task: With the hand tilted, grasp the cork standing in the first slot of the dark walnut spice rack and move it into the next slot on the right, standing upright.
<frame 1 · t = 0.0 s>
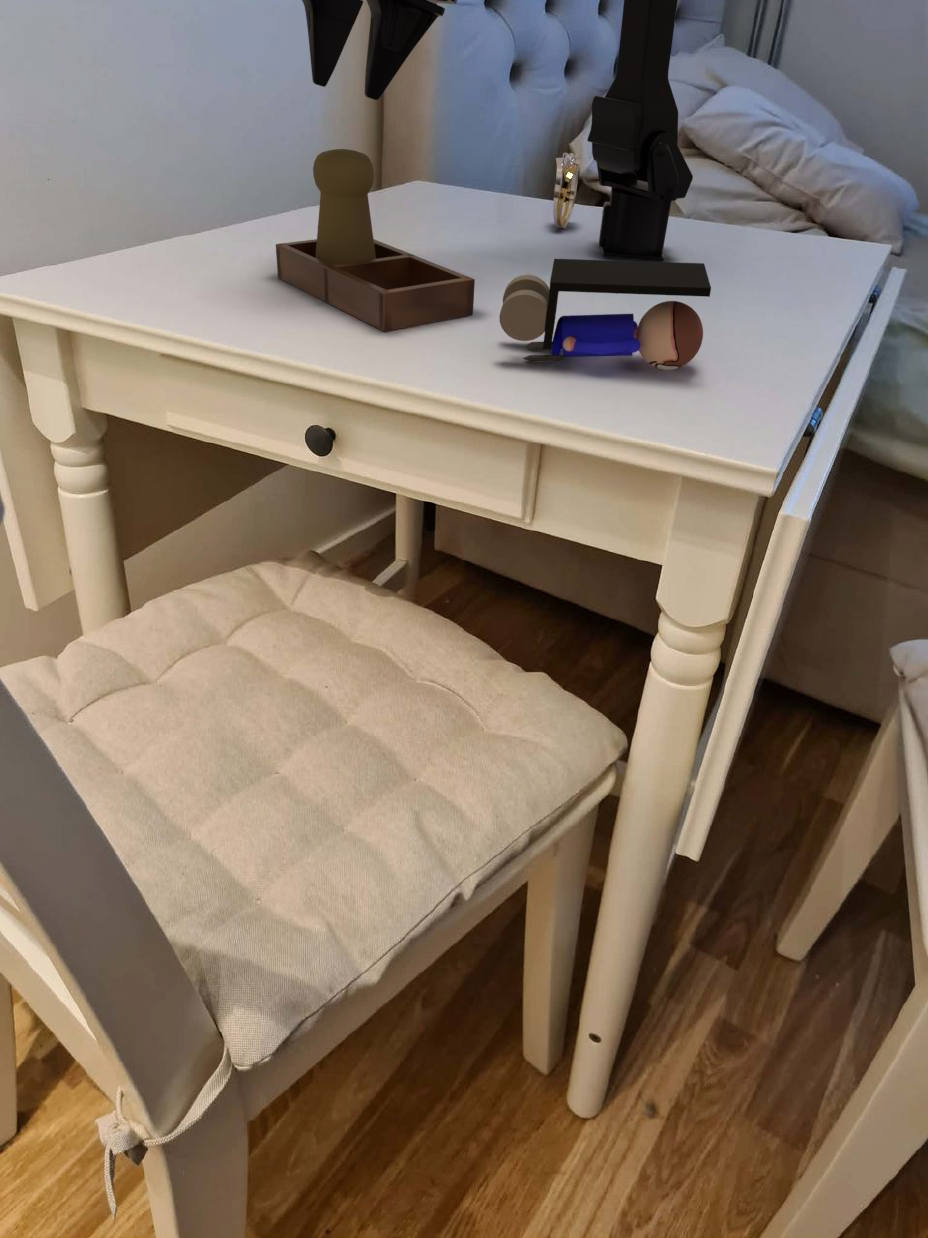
hand: (344, 91, 72), 15 cm above the table, tool pointing down, fingers open, 9 cm apart
cork: (346, 286, 82), resting in spice rack
ring: (561, 229, 106), on the table
figurine character: (595, 364, 68), on the table
spice rack: (371, 295, 79), on the table
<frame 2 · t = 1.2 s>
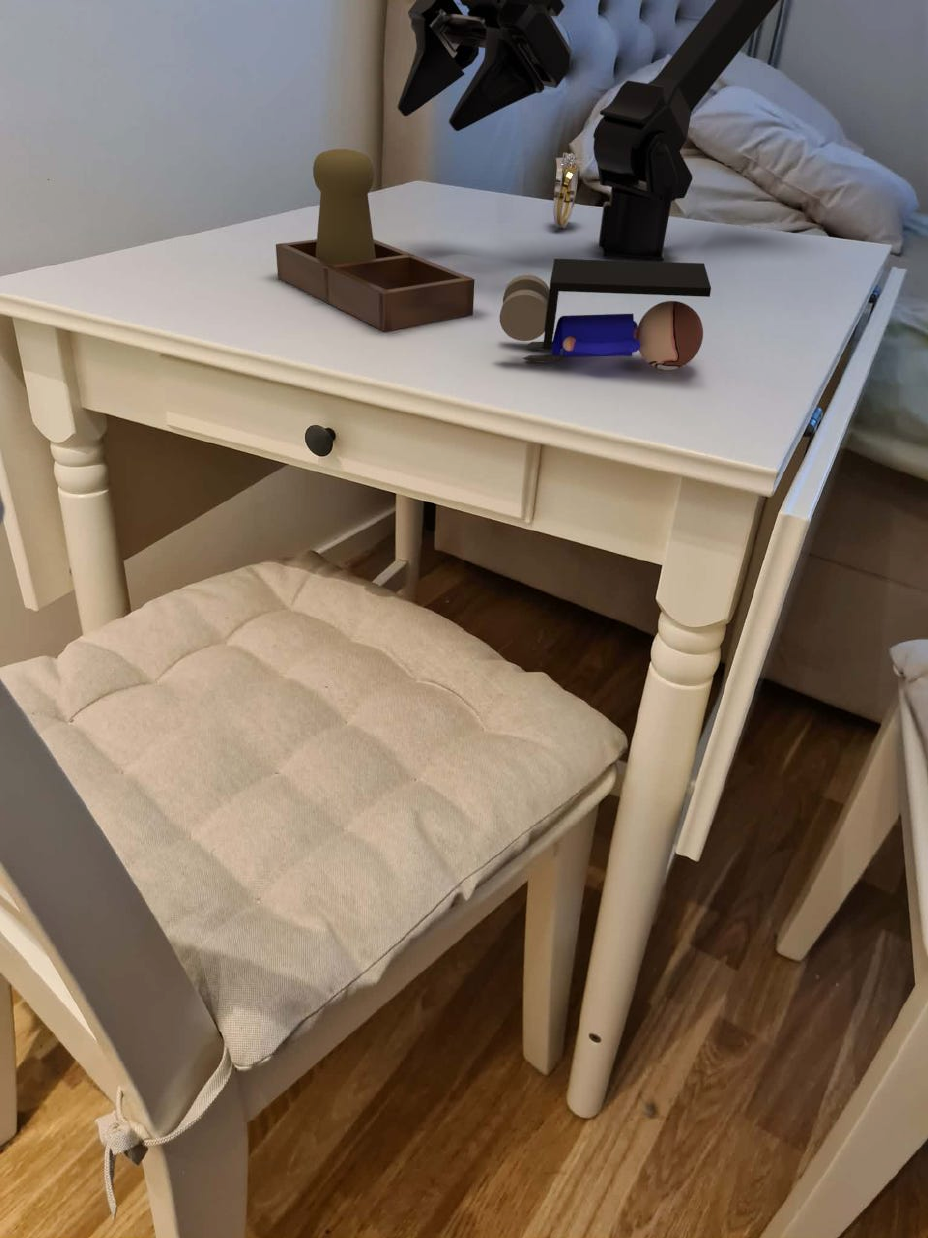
hand: (425, 119, 77), 13 cm above the table, tool tilted 45°, fingers open, 9 cm apart
nothing on the table moved.
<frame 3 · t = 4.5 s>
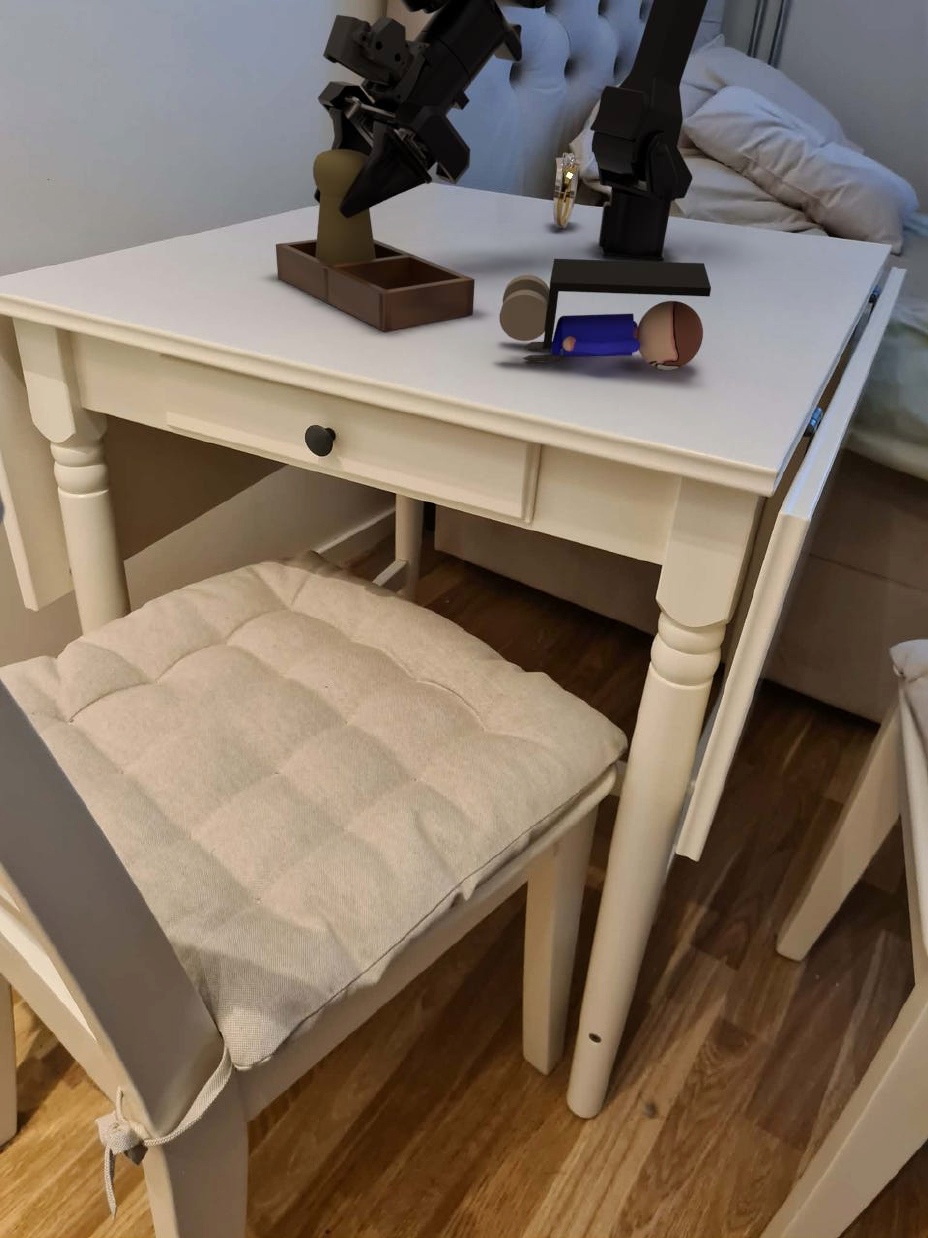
hand: (329, 207, 77), 7 cm above the table, tool tilted 45°, fingers closed on cork, 5 cm apart
cork: (346, 286, 82), resting in spice rack, touching gripper
everything else where it was.
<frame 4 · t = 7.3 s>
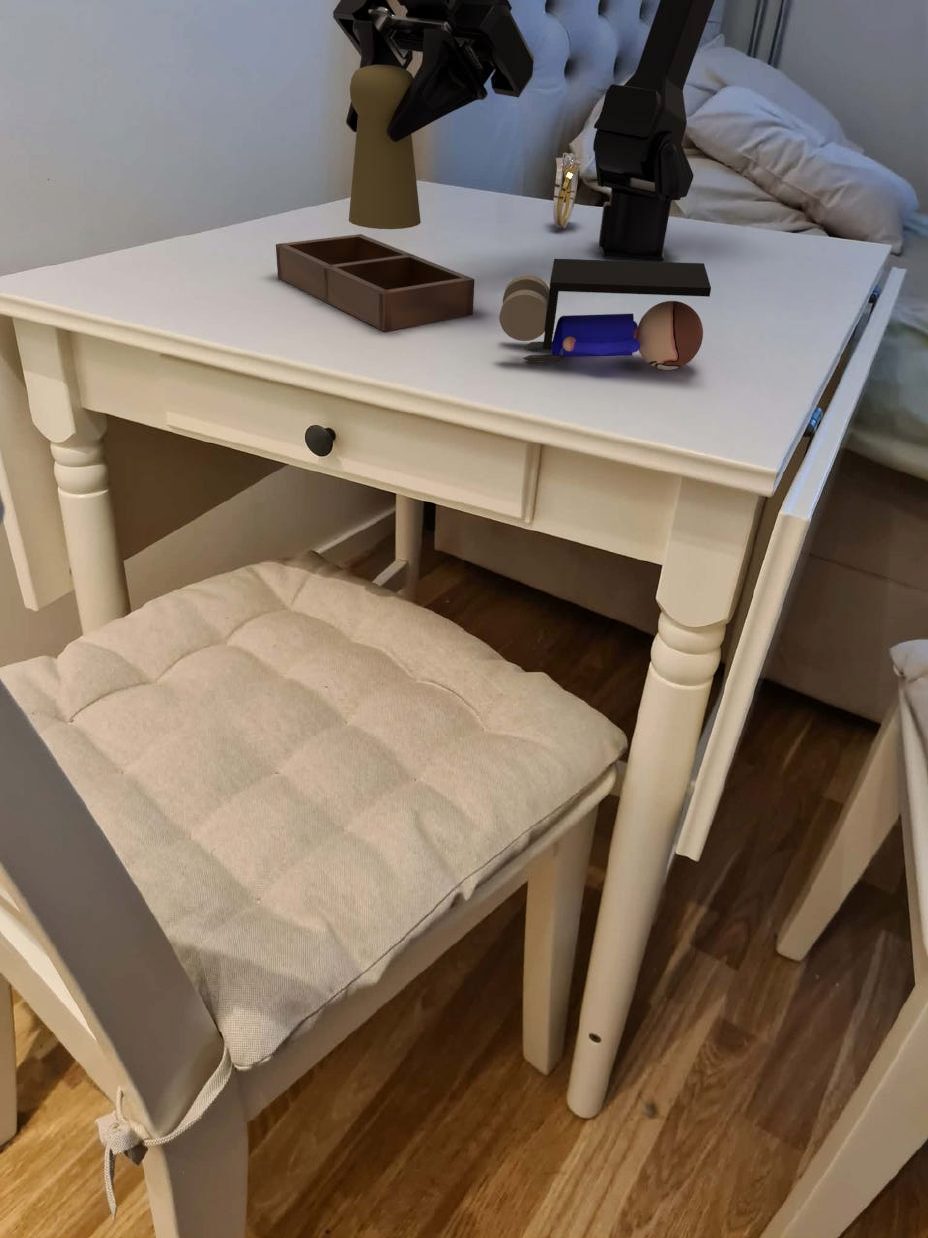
hand: (369, 132, 69), 13 cm above the table, tool tilted 45°, fingers closed on cork, 5 cm apart
cork: (384, 222, 74), point 6 cm above the table, touching gripper
everything else where it was.
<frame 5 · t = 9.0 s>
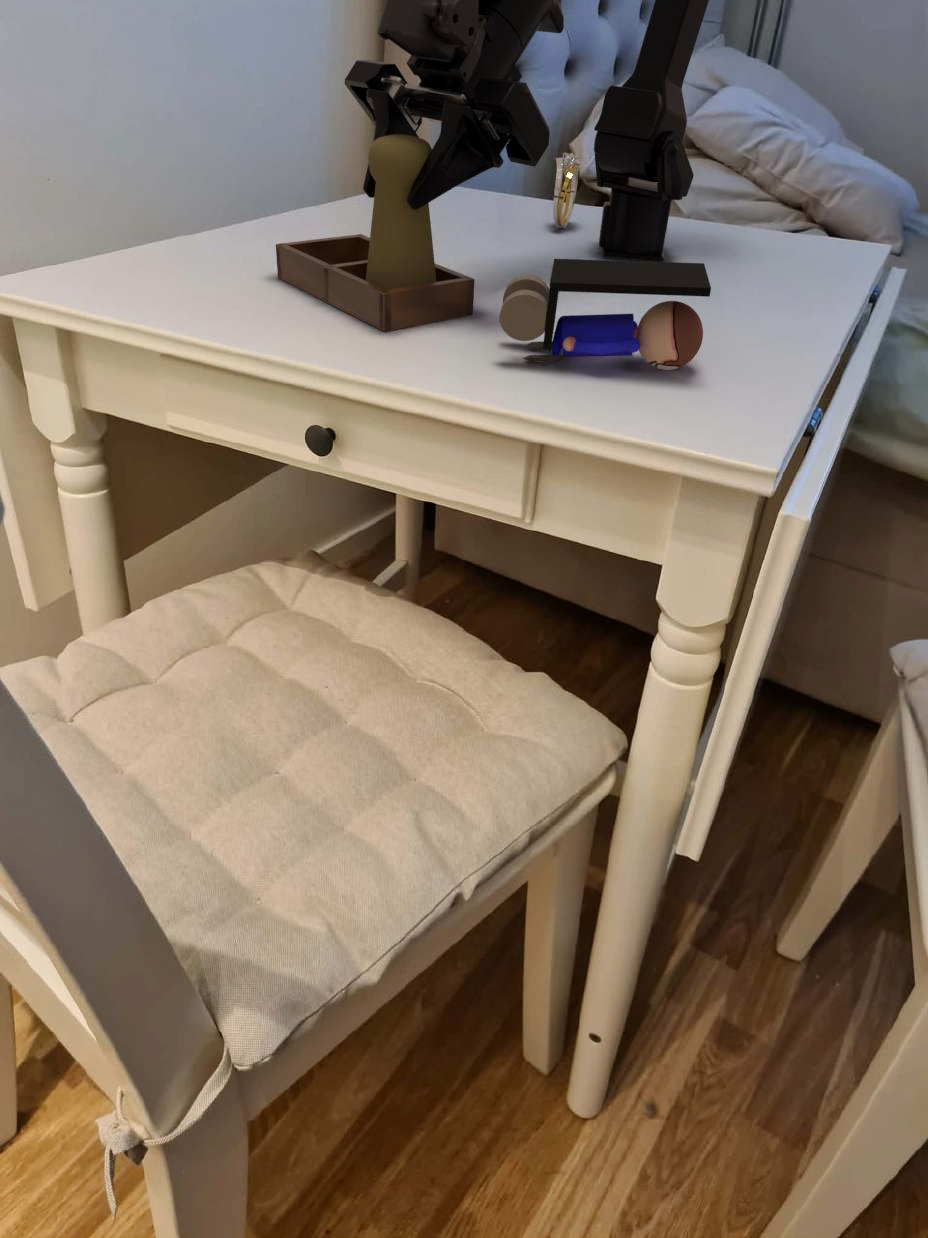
hand: (388, 199, 71), 9 cm above the table, tool tilted 45°, fingers closed on cork, 5 cm apart
cork: (401, 284, 75), point 2 cm above the table, touching gripper
everything else where it was.
when the fingers open (7 cm above the table, at t = 10.1 s): cork stays where it is, resting in spice rack.
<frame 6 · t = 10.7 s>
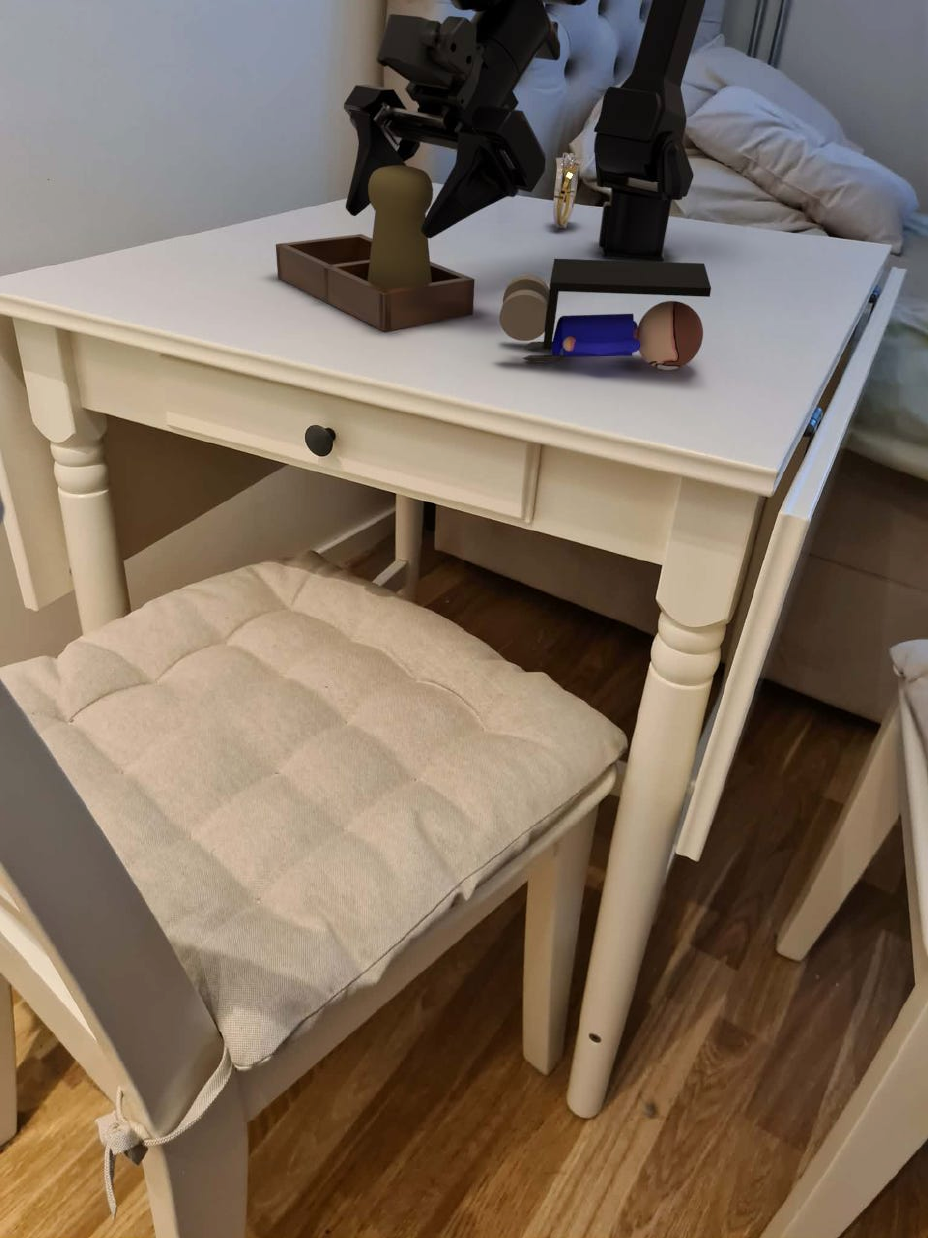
hand: (386, 222, 71), 7 cm above the table, tool tilted 45°, fingers open, 9 cm apart
cork: (399, 310, 77), resting in spice rack
everything else where it was.
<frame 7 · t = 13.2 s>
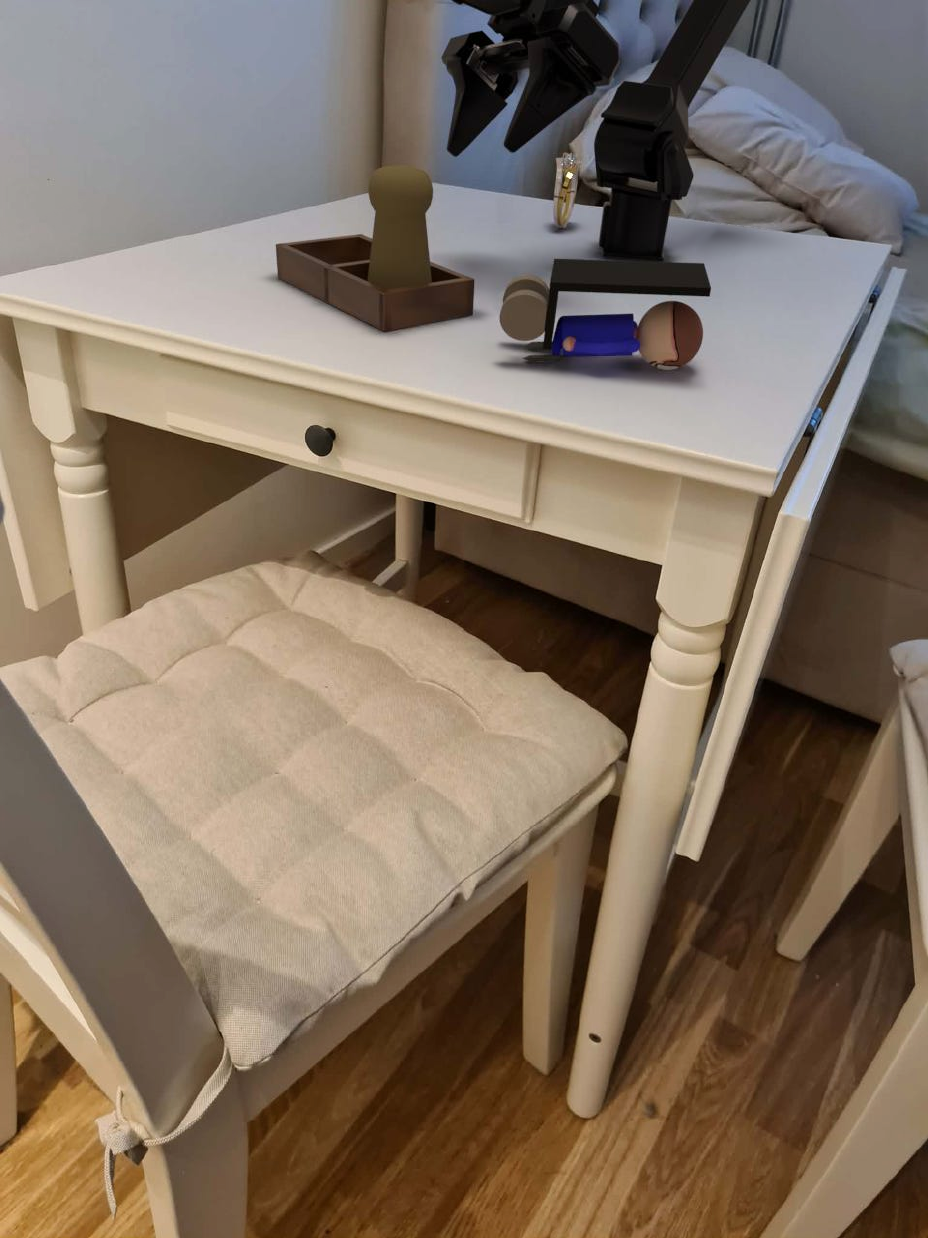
hand: (478, 151, 75), 12 cm above the table, tool tilted 35°, fingers open, 9 cm apart
nothing on the table moved.
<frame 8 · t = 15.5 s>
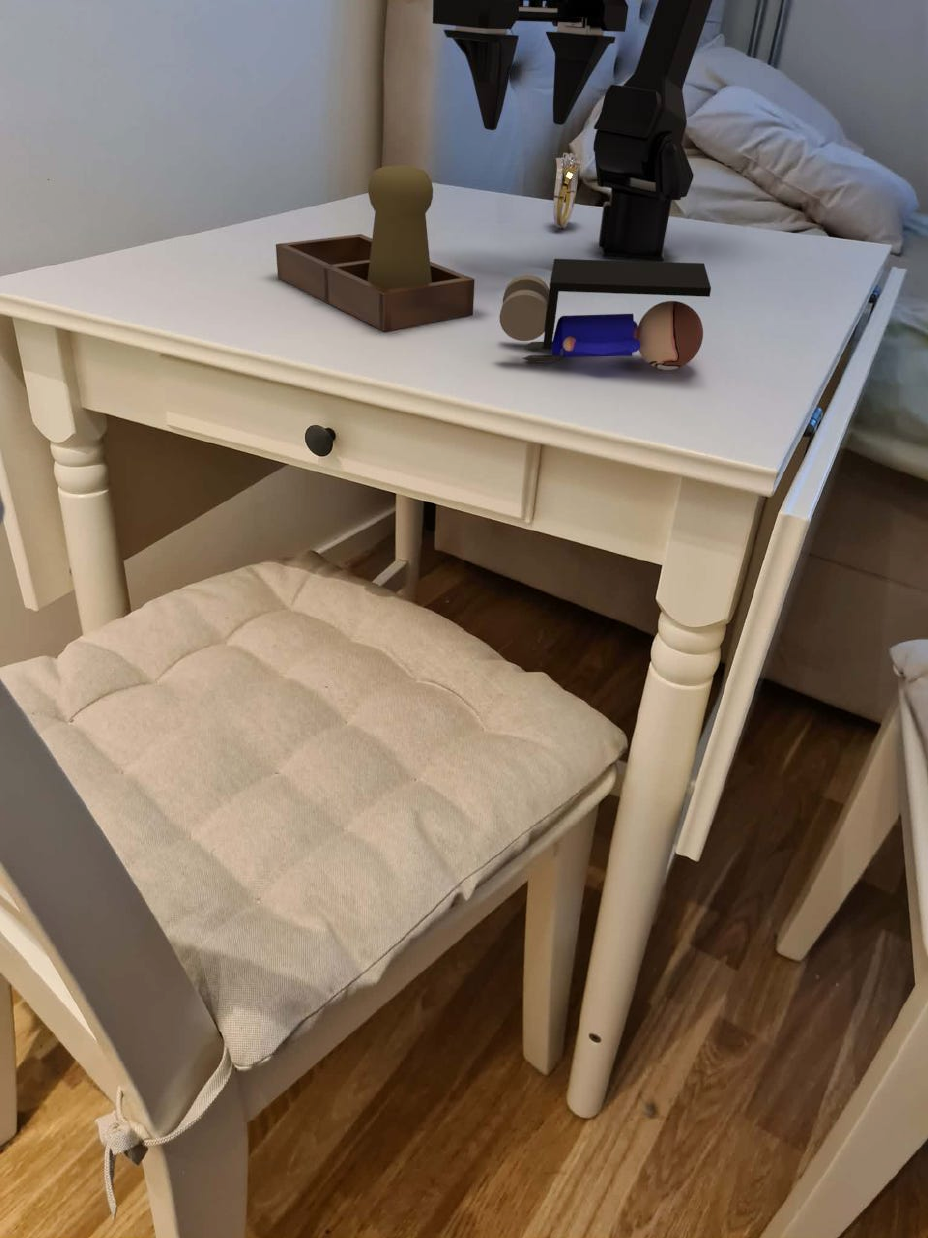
hand: (525, 126, 79), 13 cm above the table, tool pointing down, fingers open, 9 cm apart
nothing on the table moved.
at the end: cork 0.1 cm from the target spot, resting in spice rack; cork tilted 0°; the gripper is holding nothing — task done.
